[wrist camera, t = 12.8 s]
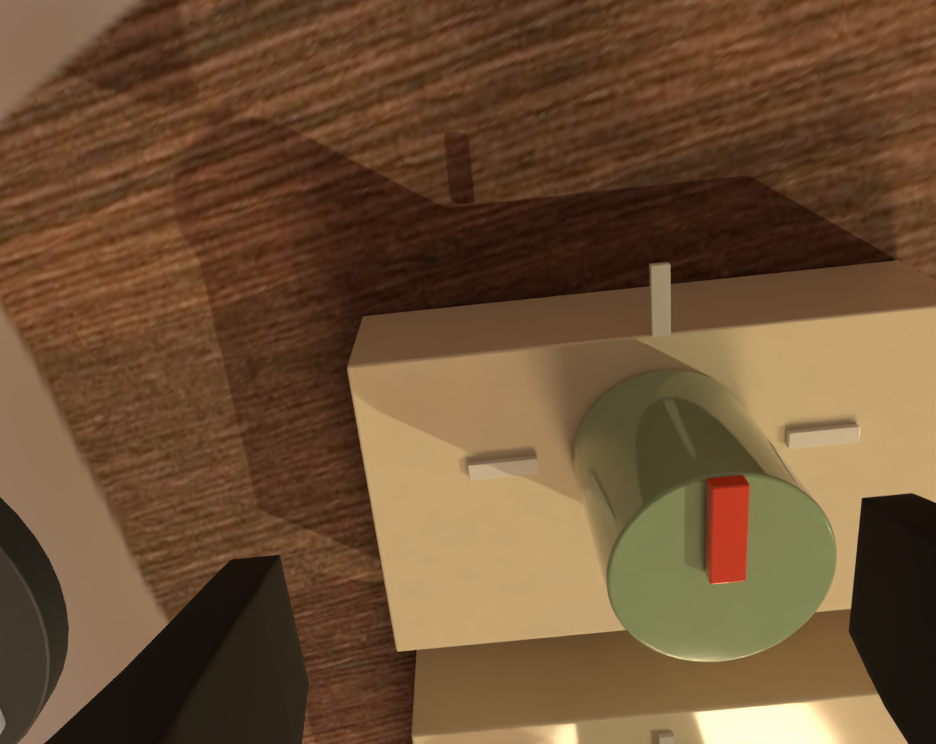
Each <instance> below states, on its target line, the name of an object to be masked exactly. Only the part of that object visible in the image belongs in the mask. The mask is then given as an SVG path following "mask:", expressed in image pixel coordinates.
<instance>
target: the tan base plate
mask: <svg viewBox="0 0 936 744" xmlns="http://www.w3.org/2000/svg"><path fill="white" fill-rule="evenodd" d="M660 370H681V371H689V372H694V373H698V374H701V375H704V376H707V377H709V378H711V379H713V380H715V381H717V382H719V383H720V384H722V385H723V386H725V387H726V388H727V389H729V390H730V391H731V392H732V393H733V394H734V395H735V396H736V397H737V399H738V400H739V401H740V403H741V404H742V405H743V406H744V408H745V409H746V410H747V412H748V413H749V414H750V416H751V417H752V418H753V420H754V421H755V422H756V423H757V425H758V426H759V427H760V429H761V430H762V431H763V433H764V434H765V435H766V437H767V438H768V439H769V440H770V442H771V443H772V444H773V446H774V447H775V448H776V450H777V451H778V452H779V453H780V455H781V456H782V457H783V459H784V460H785V461H786V463H787V464H788V465H789V467H790V468H791V469H792V470H793V472H794V473H795V474H796V476H797V477H798V478H799V480H800V481H801V482H802V483H803V485H804V486H805V487H806V489H807V490H808V491H809V493H810V494H811V495H812V497H813V498H814V499H815V500H816V502H817V503H818V504H819V506H820V507H821V508H822V510H823V511H824V512H825V514H826V516H827V518H828V520H829V521H830V523H831V526H832V529H833V532H834V535H835V541H836V547H837V563H836V569H835V574H834V578H833V581H832V584H831V587H830V589H829V591H828V593H827V595H826V597H825V599H824V601H823V602H822V604H821V605H820V607H819V608H818V610H817V611H816V612H824V611H834V610H845V609H851V602H852V592H853V582H854V572H855V562H856V552H857V542H858V532H859V522H860V512H861V502H862V498H867V497H877V496H887V495H898V494H908V493H913V494H916V495H918V496H921V497H923V498H925V499H928V500H930V501H933V502H935V503H936V280H935V279H933V278H931V277H929V276H928V275H926V274H924V273H922V272H920V271H918V270H916V269H914V268H912V267H910V266H908V265H906V264H905V263H903V262H901V261H898V260H896V261H887V262H877V263H868V264H858V265H849V266H839V267H829V268H820V269H810V270H801V271H791V272H782V273H772V274H762V275H753V276H743V277H734V278H724V279H715V280H705V281H696V282H686V283H676V284H671V282H670V263H669V262H662V263H652V264H649V286H648V287H638V288H629V289H619V290H610V291H600V292H590V293H581V294H571V295H562V296H552V297H543V298H533V299H524V300H514V301H504V302H495V303H485V304H476V305H466V306H457V307H447V308H438V309H428V310H418V311H409V312H399V313H390V314H380V315H371V316H364V317H362V320H361V323H360V327H359V330H358V333H357V336H356V339H355V343H354V346H353V349H352V352H351V356H350V359H349V362H348V365H347V373H348V379H349V384H350V390H351V396H352V402H353V407H354V413H355V419H356V424H357V430H358V436H359V441H360V447H361V453H362V459H363V464H364V470H365V476H366V481H367V487H368V493H369V498H370V504H371V510H372V516H373V521H374V527H375V533H376V538H377V544H378V550H379V555H380V561H381V567H382V573H383V578H384V584H385V590H386V595H387V601H388V607H389V612H390V618H391V624H392V630H393V635H394V641H395V647H396V650H397V651H398V652H400V651H411V650H421V649H432V648H442V647H453V646H463V645H474V644H485V643H495V642H506V641H516V640H527V639H538V638H548V637H559V636H569V635H580V634H591V633H601V632H612V631H622V630H626V629H625V628H624V627H623V626H622V624H621V623H620V621H619V620H618V618H617V617H616V615H615V613H614V611H613V609H612V607H611V604H610V601H609V597H608V594H607V590H606V587H605V583H604V579H603V576H602V572H601V568H600V565H599V561H598V557H597V554H596V550H595V546H594V543H593V539H592V535H591V532H590V528H589V524H588V521H587V517H586V513H585V510H584V506H583V502H582V499H581V495H580V491H579V488H578V484H577V480H576V477H575V473H574V467H573V448H574V442H575V438H576V435H577V432H578V429H579V427H580V425H581V423H582V421H583V419H584V418H585V416H586V415H587V413H588V411H589V410H590V409H591V408H592V406H593V405H594V404H595V403H596V402H597V401H598V400H599V399H600V398H601V397H602V396H603V395H604V394H605V393H607V392H608V391H609V390H611V389H612V388H614V387H615V386H617V385H618V384H620V383H622V382H624V381H626V380H628V379H630V378H633V377H635V376H638V375H641V374H645V373H648V372H654V371H660Z"/></svg>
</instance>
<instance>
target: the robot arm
mask: <svg viewBox="0 0 936 744" xmlns="http://www.w3.org/2000/svg"><path fill="white" fill-rule="evenodd" d="M849 633H850V636H851V638H852V640H853V642H854V644H855V646H856V649H857V651H858V653H859V655H860V657H861V659H862V662H863V664H864V666H865V668H866V670H867V672H868V674H869V676H870V678H871V680H872V682H873V684H874V686H875V688H876V690H877V692H878V694H879V696H880V698H881V700H882V702H883V704H884V706H885V708H886V710H887V711H888V713H889V714H890V716H891V718H892V719H893V721H894V722H895V724H896V726H897V727H898V729H899V730H900V732H901V733H902V735H903V737H904V738H905V740H906V741H907V743H908V744H936V503H935V502H933V501H930V500H928V499H925V498H923V497H921V496H918V495H916V494H913V493H908V494H898V495H887V496H877V497H867V498H862V502H861V512H860V522H859V532H858V542H857V552H856V562H855V572H854V582H853V592H852V602H851V612H850V622H849ZM308 684H309V682H308V678H307V673H306V669H305V665H304V660H303V656H302V651H301V647H300V643H299V638H298V634H297V630H296V625H295V621H294V616H293V612H292V608H291V603H290V599H289V594H288V590H287V586H286V581H285V577H284V572H283V568H282V564H281V559H280V555H274V556H264V557H254V558H243V559H233V560H230V561H229V562H228V563H227V564H226V565H225V566H224V567H223V568H222V569H221V570H220V571H219V572H218V573H217V574H216V575H215V576H214V577H213V578H212V579H211V580H210V581H209V582H208V583H207V584H206V585H205V586H204V587H203V588H202V590H201V591H200V592H199V593H198V594H197V595H196V596H195V597H194V598H193V599H192V600H191V601H190V602H189V603H188V604H187V605H186V606H185V607H184V608H183V609H182V610H181V612H180V613H179V614H178V615H177V616H176V617H175V618H174V619H173V620H172V621H171V622H170V623H169V624H168V625H167V626H166V627H165V628H164V629H163V630H162V631H161V632H160V633H159V634H158V635H157V636H156V637H155V638H154V639H153V640H152V641H151V642H150V644H148V645H147V646H146V647H145V649H143V650H142V652H141V653H140V654H139V655H138V656H137V657H136V658H135V659H134V660H133V661H132V662H131V663H130V664H129V665H128V666H127V667H126V668H125V669H124V670H123V671H122V672H121V673H120V674H119V675H118V676H117V677H115V678H114V679H113V681H111V682H110V683H109V684H108V685H107V686H106V687H105V688H104V689H103V690H102V691H100V692H99V693H98V694H97V695H96V696H95V697H94V698H93V699H92V700H91V701H90V702H89V703H88V704H87V705H85V706H84V707H83V708H82V709H81V710H80V711H79V712H78V713H77V714H76V715H75V716H74V717H73V718H72V719H70V721H68V722H67V723H66V724H65V725H64V726H63V727H62V728H61V729H60V730H59V731H58V732H57V733H55V734H54V735H53V736H52V737H51V738H50V739H49V740H48V741H47V742H45V743H44V744H302V738H303V730H304V721H305V712H306V702H307V693H308ZM5 725H6V721H5V717H4V715H3V713H2V710H1V708H0V734H1V733H2V731H3V729H4V727H5Z"/></svg>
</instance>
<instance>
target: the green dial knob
mask: <svg viewBox="0 0 936 744" xmlns="http://www.w3.org/2000/svg"><path fill="white" fill-rule="evenodd" d="M573 467H574V473H575V477H576V480H577V484H578V488H579V491H580V495H581V499H582V502H583V506H584V510H585V513H586V517H587V521H588V524H589V528H590V532H591V535H592V539H593V543H594V546H595V550H596V554H597V557H598V561H599V565H600V568H601V572H602V576H603V579H604V583H605V587H606V590H607V594H608V597H609V601H610V604H611V607H612V609H613V611H614V613H615V615H616V617H617V618H618V620H619V621H620V623H621V624H622V626H623V627H624V628H625V629H626V630H627V631H628V632H629V633H630V634H631V635H632V636H633V637H634V638H636V639H637V640H638V641H639V642H641V643H642V644H643V645H645V646H647V647H648V648H650V649H652V650H654V651H656V652H658V653H661V654H663V655H665V656H669V657H672V658H675V659H679V660H685V661H691V662H704V663H707V662H723V661H730V660H736V659H740V658H744V657H748V656H751V655H754V654H757V653H759V652H762V651H764V650H766V649H769V648H771V647H773V646H775V645H777V644H778V643H780V642H782V641H783V640H785V639H787V638H788V637H789V636H791V635H792V634H793V633H795V632H796V631H797V630H799V629H800V628H801V627H802V626H803V625H804V624H805V623H806V622H807V621H808V620H809V619H810V618H811V617H812V616H813V614H814V613H815V612H816V611H817V610H818V608H819V607H820V605H821V604H822V602H823V601H824V599H825V597H826V595H827V593H828V591H829V589H830V587H831V584H832V581H833V578H834V574H835V569H836V563H837V547H836V541H835V535H834V532H833V529H832V526H831V523H830V521H829V520H828V518H827V516H826V514H825V512H824V511H823V510H822V508H821V507H820V506H819V504H818V503H817V502H816V500H815V499H814V498H813V497H812V495H811V494H810V493H809V491H808V490H807V489H806V487H805V486H804V485H803V483H802V482H801V481H800V480H799V478H798V477H797V476H796V474H795V473H794V472H793V470H792V469H791V468H790V467H789V465H788V464H787V463H786V461H785V460H784V459H783V457H782V456H781V455H780V453H779V452H778V451H777V450H776V448H775V447H774V446H773V444H772V443H771V442H770V440H769V439H768V438H767V437H766V435H765V434H764V433H763V431H762V430H761V429H760V427H759V426H758V425H757V423H756V422H755V421H754V420H753V418H752V417H751V416H750V414H749V413H748V412H747V410H746V409H745V408H744V406H743V405H742V404H741V403H740V401H739V400H738V399H737V397H736V396H735V395H734V394H733V393H732V392H731V391H730V390H729V389H727V388H726V387H725V386H723V385H722V384H720V383H719V382H717V381H715V380H713V379H711V378H709V377H707V376H704V375H701V374H698V373H694V372H689V371H681V370H660V371H654V372H648V373H645V374H641V375H638V376H635V377H633V378H630V379H628V380H626V381H624V382H622V383H620V384H618V385H617V386H615V387H614V388H612V389H611V390H609V391H608V392H607V393H605V394H604V395H603V396H602V397H601V398H600V399H599V400H598V401H597V402H596V403H595V404H594V405H593V406H592V408H591V409H590V410H589V411H588V413H587V415H586V416H585V418H584V419H583V421H582V423H581V425H580V427H579V429H578V432H577V435H576V438H575V442H574V448H573Z"/></svg>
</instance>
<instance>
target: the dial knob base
mask: <svg viewBox="0 0 936 744" xmlns="http://www.w3.org/2000/svg"><path fill="white" fill-rule="evenodd" d="M850 612H851V609H845V610H834V611H824V612H815V613H814V614H813V616H812V617H811V618H810V619H809V620H808V621H807V622H806V623H805V624H804V625H803V626H802V627H801V628H800V629H799V630H797V631H796V632H795V633H793V634H792V635H791V636H789V637H788V638H787V639H785V640H783V641H782V642H780V643H778V644H777V645H775V646H773V647H771V648H769V649H766V650H764V651H762V652H759V653H757V654H754V655H751V656H748V657H744V658H740V659H736V660H730V661H723V662H707V663H704V662H691V661H685V660H679V659H675V658H672V657H669V656H665V655H663V654H661V653H658V652H656V651H654V650H652V649H650V648H648V647H647V646H645V645H643V644H642V643H641V642H639V641H638V640H637V639H636V638H634V637H633V636H632V635H631V634H630V633H629V632H628V631H627V630H622V631H612V632H601V633H591V634H580V635H569V636H559V637H548V638H538V639H527V640H516V641H506V642H495V643H485V644H474V645H463V646H453V647H442V648H432V649H421V650H417V651H416V664H415V681H414V698H413V715H412V732H411V737H412V743H413V744H908V743H907V741H906V740H905V738H904V737H903V735H902V733H901V732H900V730H899V729H898V727H897V726H896V724H895V722H894V721H893V719H892V718H891V716H890V714H889V713H888V711H887V710H886V708H885V706H884V704H883V702H882V700H881V698H880V696H879V694H878V692H877V690H876V688H875V686H874V684H873V682H872V680H871V678H870V676H869V674H868V672H867V670H866V668H865V666H864V664H863V662H862V659H861V657H860V655H859V653H858V651H857V649H856V646H855V644H854V642H853V640H852V638H851V636H850V633H849V622H850Z"/></svg>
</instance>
